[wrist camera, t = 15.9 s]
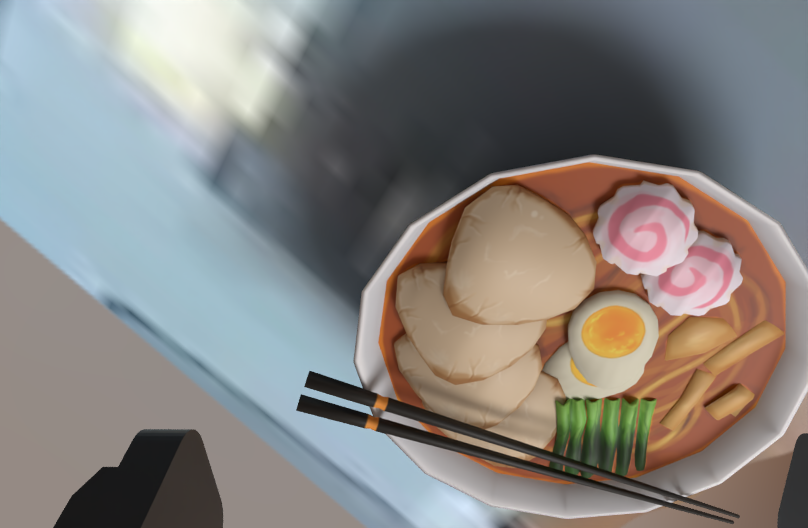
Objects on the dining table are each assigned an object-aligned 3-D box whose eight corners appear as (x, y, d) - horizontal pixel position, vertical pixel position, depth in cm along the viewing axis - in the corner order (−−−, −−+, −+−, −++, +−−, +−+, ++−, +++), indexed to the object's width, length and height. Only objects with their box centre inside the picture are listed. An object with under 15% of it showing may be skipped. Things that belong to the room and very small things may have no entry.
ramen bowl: (886, 192, 39) (970, 278, 32) (663, 474, 52) (689, 581, 45) (432, 19, 37) (418, 73, 30) (310, 358, 49) (280, 451, 42)
